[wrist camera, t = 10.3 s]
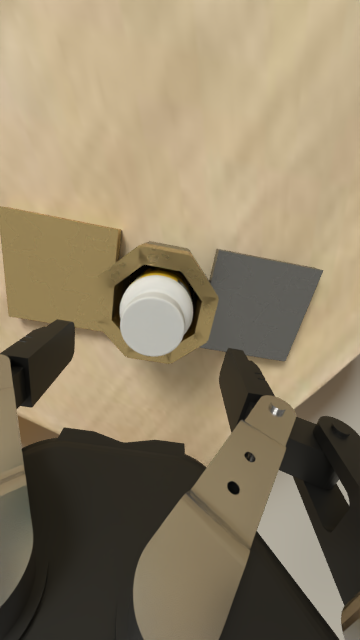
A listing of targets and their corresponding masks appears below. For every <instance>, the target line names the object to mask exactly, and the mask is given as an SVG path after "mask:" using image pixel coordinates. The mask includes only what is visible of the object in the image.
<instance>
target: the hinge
mask: <svg viewBox="0 0 360 640" xmlns="http://www.w3.org/2000/svg"><path fill="white" fill-rule="evenodd" d="M0 233H1V243H2V253H3V263H4V273H5V283H6V293H7V303H8V313H9V316H10V317H16V318H22V319H28V320H34V321H40V322H47V323H52V322H54V321H55V320H57V319H59V320H65V321H71V322H73V323H74V325H75V327H77V328H83V329H89V330H96V331H102V332H104V333H105V334H106V335H107V337H108V338H109V339H110V340H111V341H112V342H113V343H114V344H115V345H116V347H117V348H118V349H119V350H120V351H121V352H122V353H123V354H124V356H125V357H126V356H127V357H128V358H134V359H141V360H147V361H153V362H160V363H166V364H170V363H173V362H175V361H176V360H178V359H180V358H181V357H183V356H185V355H186V354H188V353H190V352H192V351H193V350H195V349H197V348H198V347H200V348H206V349H212V350H218V351H224V352H226V351H227V349H228V348H232V349H238V350H243V351H244V353H245V355H249V356H255V357H261V358H267V359H273V360H279V361H286V358H287V356H288V354H289V351H290V349H291V346H292V344H293V342H294V339H295V337H296V335H297V332H298V330H299V327H300V325H301V323H302V320H303V318H304V315H305V313H306V311H307V308H308V306H309V303H310V301H311V299H312V296H313V294H314V291H315V289H316V287H317V284H318V282H319V280H320V277H321V275H322V272H323V270H320V269H316V268H312V267H307V266H301V265H296V264H291V263H286V262H281V261H276V260H271V259H266V258H261V257H256V256H251V255H246V254H241V253H236V252H231V251H226V250H221V249H217V250H216V254H215V258H214V263H213V267H212V271H211V275H210V280H208V279H207V277H206V275H205V274H204V272H203V271H202V269H201V268H200V266H199V265H198V263H197V261H196V260H195V258H194V257H193V255H192V254H191V252H190V250H188V249H187V248H182V247H177V246H171V245H166V244H161V243H156V242H151V241H149V242H146V243H144V244H142V245H139V246H137V247H136V248H135V249H133V250H132V251H131V252H129V253H128V254H127V255H126V256H124V257H123V258H122V259H120V260H119V252H120V240H121V230H119V229H114V228H109V227H104V226H99V225H94V224H89V223H84V222H79V221H74V220H69V219H64V218H59V217H54V216H49V215H44V214H39V213H34V212H28V211H23V210H18V209H13V208H8V207H1V206H0ZM144 264H145V265H150V266H155V267H161V268H166V269H171V270H176V271H182V273H183V274H184V276H185V277H186V278H187V280H188V281H189V283H190V284H191V286H192V287H193V289H194V290H195V292H194V297H193V301H192V303H193V318H192V322H191V325H190V327H189V329H188V330H187V332H186V333H185V334H184V336H183V339H182V341H181V342H180V344H179V345H178V346H177V347H176V348H175V349H174V350H173V351H171V352H170V353H168V354H165V355H162V356H145V355H142V354H139V353H137V352H136V351H134V350H133V349H131V348H130V347H129V346H128V345H127V343H126V342H125V341H124V339H123V337H122V334H121V330H120V321H121V318H120V303H121V300H122V297H123V295H124V293H125V291H126V290H127V288H128V287H129V280H130V274H131V273H133V272H134V271H135V270H137V269H138V268H139V267H141V266H142V265H144Z"/></svg>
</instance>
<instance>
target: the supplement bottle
mask: <svg viewBox="0 0 360 640" xmlns="http://www.w3.org/2000/svg"><path fill="white" fill-rule="evenodd" d="M120 318H121V321H120V330H121V334H122V337H123V339H124V341H125V342H126V343H127V345H128V346H129V347H130V348H131V349H133V350H134V351H136V352H137V353H139V354H142V355H145V356H162V355H165V354H168V353H170V352H171V351H173V350H174V349H175V348H176V347H177V346H178V345H179V344H180V342H181V341H182V339H183V336H184V334H185V333H186V332H187V330H188V329H189V327H190V325H191V322H192V318H193V303H192V299H191V294H190V288H189V284H188V282H187V280H186V278H185V276H184V275H183V274H182V273H181V272H180V271H176V270H171V269H166V268H161V267H155V266H151V267H149V268H147V269H146V270H144V271H143V272H142V273H141V274H140V275H139V276H138V277H137V278H136V280H135V281H134V282H133V283H132V284H131V285H130V286H129V287H128V288H127V290H126V291H125V293H124V295H123V297H122V300H121V303H120Z"/></svg>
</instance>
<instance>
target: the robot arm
mask: <svg viewBox="0 0 360 640" xmlns="http://www.w3.org/2000/svg"><path fill="white" fill-rule="evenodd" d="M74 345H75V325H74V323H73V322H71V321H65V320H59V319H57V320H55V321H54V322H52V323H51V324H50V325H48V326H47V327H42V328H39V329H36V330H33V331H32V332H30V333H29V334H27V335H26V337H23V338H22V339H20V341H17V342H16V343H15V344H13V345H12V346H10V347H9V348H7V349H6V350H4V351H3V352H2V353H0V640H339V638H338V637H337V636H336V634H335V633H334V632H333V630H332V629H331V628H330V626H329V625H328V624H327V622H326V621H325V620H324V618H323V617H322V616H321V615H320V613H319V612H318V611H317V609H316V608H315V607H314V605H313V604H312V603H311V602H310V600H309V599H308V598H307V596H306V595H305V594H304V592H303V591H302V590H301V588H300V587H299V586H298V584H297V583H296V582H295V581H294V579H293V578H292V577H291V575H290V574H289V573H288V571H287V570H286V569H285V567H284V566H283V565H282V564H281V562H280V561H279V560H278V558H277V557H276V556H275V554H274V553H273V552H272V550H271V549H270V548H269V547H268V545H267V544H266V543H265V541H264V540H263V539H262V538H261V536H260V535H259V533H258V532H257V528H258V525H259V522H260V520H261V517H262V514H263V511H264V509H265V506H266V503H267V500H268V498H269V495H270V492H271V489H272V487H273V484H274V481H275V478H276V476H277V473H278V470H280V471H283V472H285V473H287V474H290V475H292V476H293V478H294V480H295V483H296V485H297V488H298V490H299V493H300V495H301V497H302V500H303V503H304V505H305V508H306V510H307V513H308V515H309V518H310V520H311V523H312V525H313V528H314V530H315V533H316V535H317V538H318V540H319V543H320V546H321V548H322V551H323V553H324V556H325V558H326V561H327V563H328V566H329V568H330V571H331V573H332V576H333V578H334V581H335V583H336V586H337V588H338V591H339V593H340V596H341V598H342V601H343V603H344V608H343V610H342V615H341V624H342V630H343V635H344V638H345V640H360V436H359V435H358V434H357V433H356V432H355V431H354V430H353V429H352V428H351V427H350V426H348V425H347V424H345V423H344V422H342V421H340V420H338V419H335V418H333V417H329V416H323V417H320V419H319V420H318V422H317V424H314V423H311V422H309V421H306V420H303V419H301V418H298V417H296V413H295V411H294V409H293V408H292V407H291V406H290V405H289V404H288V403H287V402H285V401H284V400H282V399H280V398H278V397H275V396H274V394H273V392H272V390H271V388H270V387H269V385H268V383H267V381H265V378H264V376H263V375H262V372H261V371H260V369H259V367H258V366H257V365H256V364H254V363H253V362H252V361H249V360H248V359H247V357H246V355H245V353H244V351H243V350H238V349H232V348H228V349H227V351H226V355H225V358H224V361H223V365H222V368H221V371H220V376H219V384H220V389H221V393H222V397H223V401H224V405H225V409H226V413H227V417H228V421H229V425H230V429H231V435H230V436H229V437H228V439H227V440H226V441H225V443H224V444H223V446H222V447H221V448H220V450H219V451H218V453H217V454H216V455H215V457H214V458H213V460H212V461H211V462H210V464H209V465H208V467H207V468H206V467H205V466H204V465H203V464H202V463H200V462H199V461H197V460H196V459H194V458H192V457H190V456H188V455H186V454H185V449H184V444H183V443H175V442H168V441H160V440H149V441H139V442H128V443H123V442H120V441H117V440H114V439H112V438H109V437H107V436H104V435H102V434H99V433H97V432H94V431H86V430H79V429H71V428H63V430H62V432H61V434H60V435H59V437H58V438H52V439H47V440H43V441H39V442H36V443H34V444H31V445H28V446H26V447H24V448H22V447H21V440H20V433H19V426H18V417H17V409H18V407H19V406H25V407H33V406H34V405H35V403H36V402H37V401H38V400H39V399H40V397H41V396H42V395H43V394H44V393H45V391H46V390H47V389H48V388H49V386H50V385H51V384H52V383H53V382H54V380H55V379H56V378H57V377H58V376H59V374H60V373H61V372H62V371H63V370H64V368H65V367H66V366H67V365H68V364H69V362H70V361H71V359H72V357H73V354H74ZM339 479H340V481H341V483H342V484H343V486H344V488H345V490H346V491H347V493H348V497H349V502H350V506H349V505H348V503H347V502H346V500H345V499H344V496H343V494H342V493H341V491H340V489H339V487H338V486H337V484H336V483H337V481H338V480H339Z"/></svg>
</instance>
